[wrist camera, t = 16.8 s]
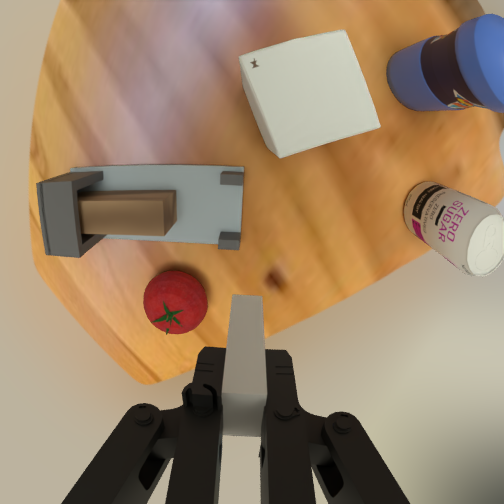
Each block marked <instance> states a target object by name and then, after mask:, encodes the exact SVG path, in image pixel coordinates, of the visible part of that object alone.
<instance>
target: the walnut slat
mask: <svg viewBox="0 0 504 504" xmlns="http://www.w3.org/2000/svg"><path fill="white" fill-rule="evenodd" d="M77 200H78V212H79V222H80V230H81V234H108V235H140V236H165V235H166V234H167V233H168V231H169V230H170V229H171V228H172V226H173V225H174V224H175V223H176V221H177V198H176V190H113V191H82V192H79V193H77Z"/></svg>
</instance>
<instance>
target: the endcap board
mask: <svg viewBox="0 0 504 504" xmlns="http://www.w3.org/2000/svg"><path fill="white" fill-rule="evenodd" d="M243 179H244V166H222V165H181V164H152V165H112V166H91V167H75V168H71V169H70V172H69V173H66V174H63V175H60V176H57V177H54V178H50V179H47V180H44V181H42V182H39V183H36V184H37V196H38V205H39V214H40V222H41V229H42V235H43V241H44V247H45V253H46V255H53V256H64V257H76V258H80V257H81V256H83V255H84V253H86V252H87V251H88V250H89V249H90V248H92V247H93V246H94V245H95V244H96V243H98V242H99V241H100V240H101V239H103V238H109V239H129V240H148V241H168V242H186V243H205V244H218V249H227V250H239V247H240V236H241V217H242V198H243ZM113 190H176V198H177V221H176V223H175V224H174V225H173V226H172V228H171V229H170V230H169V231H168V233H167V234H166V235H165V236H140V235H108V234H81V230H80V222H79V212H78V200H77V193H79V192H82V191H113Z"/></svg>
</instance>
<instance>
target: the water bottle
mask: <svg viewBox="0 0 504 504" xmlns="http://www.w3.org/2000/svg"><path fill="white" fill-rule="evenodd" d="M386 74H387V81H388V84H389V87H390V89H391V91H392V93H393V94H394V96H395V97H396V98H397V99H398V101H399V102H400V103H402V104H403V105H404V106H406V107H407V108H409V109H412V110H415V111H440V110H462V109H466V108H470V107H474V106H476V107H482V108H487V109H490V110H492V111H495V112H499V113H504V18H502V17H500V16H498V15H495V14H486V15H483V16H480V17H477V18H474V19H471V20H469V21H466V22H464V23H463V24H462V25H461V26H460V27H459V28H457V29H456V30H454V31H453V32H451V33H449V34H448V35H441V36H433V37H430V38H428V39H425V40H423V41H420V42H418V43H416V44H413V45H411V46H409V47H407V48H405V49H402V50H400V51H398V52H397V53H395V54H394V55H393V56H392V57H391V58H390V60H389V62H388V65H387V72H386Z"/></svg>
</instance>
